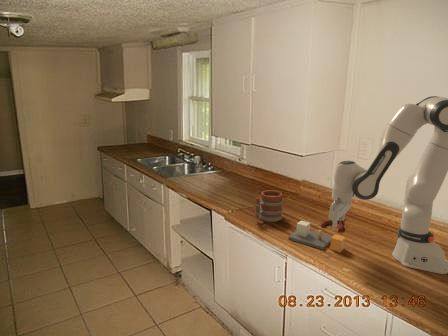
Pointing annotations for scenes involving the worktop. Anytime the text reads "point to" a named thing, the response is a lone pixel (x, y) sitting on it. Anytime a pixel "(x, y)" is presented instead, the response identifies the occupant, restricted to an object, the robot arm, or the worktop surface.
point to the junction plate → (310, 236)
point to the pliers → (332, 223)
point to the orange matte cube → (337, 243)
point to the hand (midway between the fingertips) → (338, 223)
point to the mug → (269, 206)
